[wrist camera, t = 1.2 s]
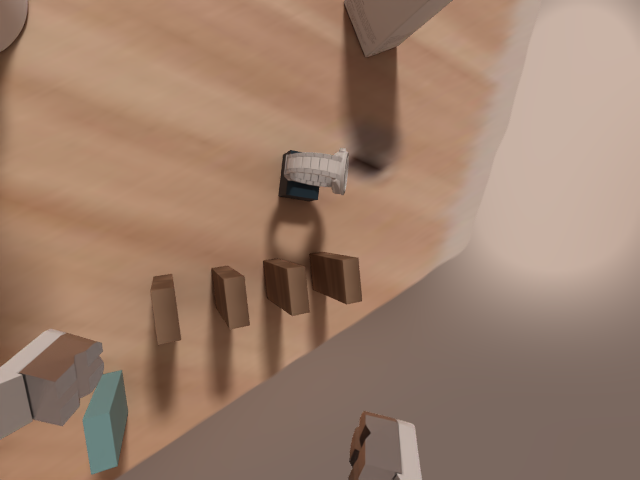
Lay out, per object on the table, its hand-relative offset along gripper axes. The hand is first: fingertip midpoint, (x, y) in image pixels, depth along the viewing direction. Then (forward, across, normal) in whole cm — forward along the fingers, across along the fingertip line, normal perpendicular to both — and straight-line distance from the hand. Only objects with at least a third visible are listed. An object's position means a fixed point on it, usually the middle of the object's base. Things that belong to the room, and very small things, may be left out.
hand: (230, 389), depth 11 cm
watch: (+39, +4, +6) cm, 39 cm away
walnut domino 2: (+28, +9, +18) cm, 35 cm away
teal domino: (+18, +17, +29) cm, 38 cm away
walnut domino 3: (+32, +4, +18) cm, 36 cm away
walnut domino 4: (+35, -2, +17) cm, 39 cm away
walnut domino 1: (+25, +15, +19) cm, 35 cm away
